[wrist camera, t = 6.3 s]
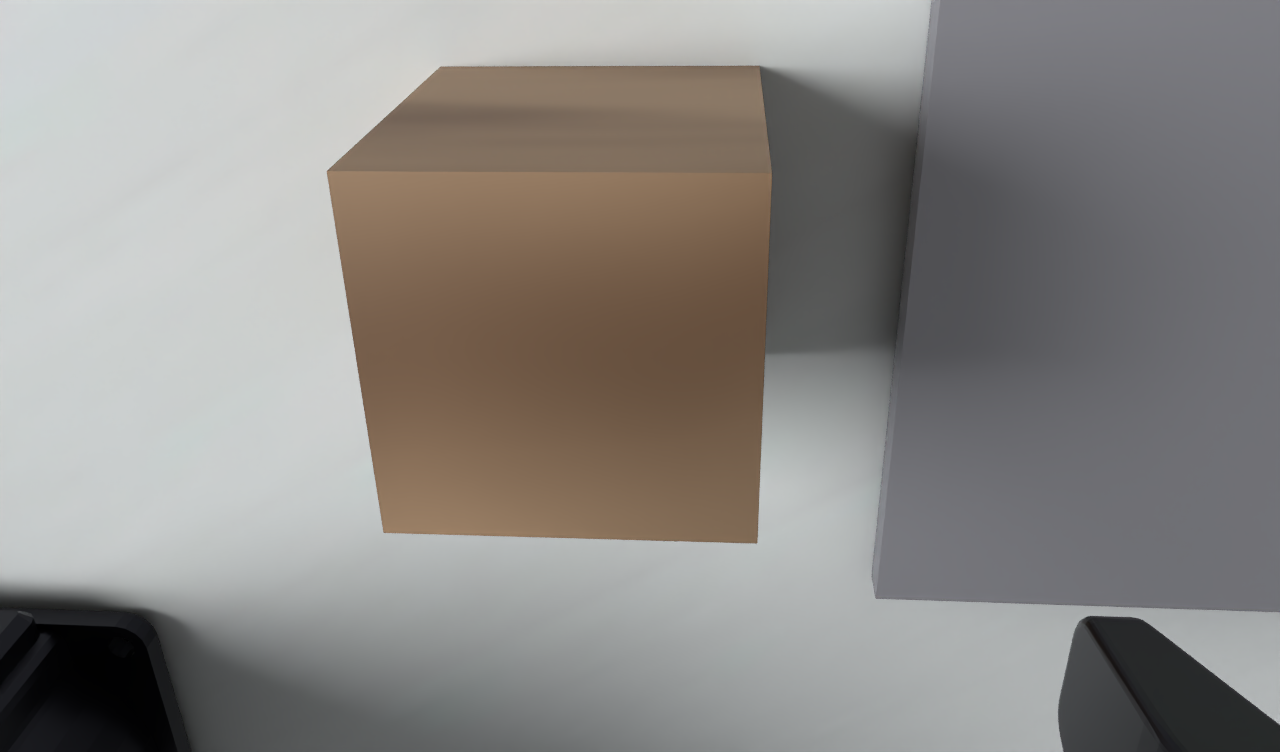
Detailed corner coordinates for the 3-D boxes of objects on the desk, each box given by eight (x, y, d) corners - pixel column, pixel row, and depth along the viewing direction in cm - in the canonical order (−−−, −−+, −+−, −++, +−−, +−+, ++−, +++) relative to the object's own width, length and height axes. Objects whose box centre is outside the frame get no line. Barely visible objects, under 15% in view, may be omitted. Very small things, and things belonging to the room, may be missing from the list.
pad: (1474, 595, 18) (1496, 619, 18) (871, 576, 19) (876, 598, 18) (1748, -37, 14) (1790, -30, 13) (934, -30, 14) (943, -24, 14)
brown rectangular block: (750, 353, 17) (757, 543, 13) (469, 348, 18) (383, 532, 13) (759, 64, 15) (771, 173, 11) (441, 65, 15) (327, 170, 11)
